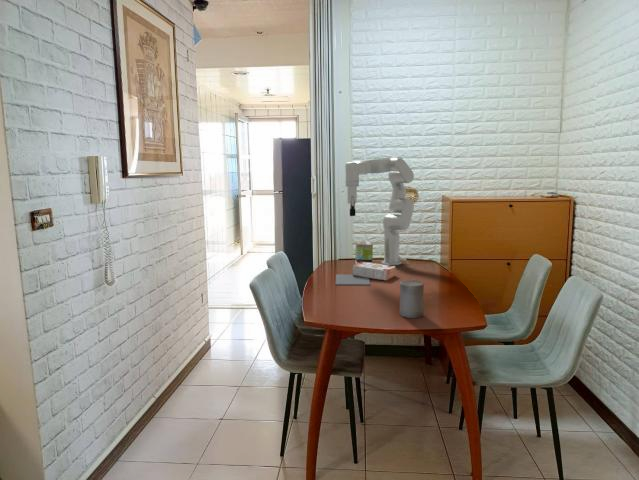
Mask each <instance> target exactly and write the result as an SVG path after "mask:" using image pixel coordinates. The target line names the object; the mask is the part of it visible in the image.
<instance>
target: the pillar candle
mask: <svg viewBox="0 0 639 480" xmlns="http://www.w3.org/2000/svg"><path fill="white" fill-rule="evenodd" d="M424 286H425V285H424V282H423V281H421V280H417V279H416V280H415V279H405V280H402V281H400V282H399V315H400V316H401V317H404V318H408V319H419V318H421V317H423V316H424V308H425V307H424V304H425V303H424V302H425V301H424V300H425V299H424V298H425V297H424V295H425V292H424V291H425V289H424Z"/></svg>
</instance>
